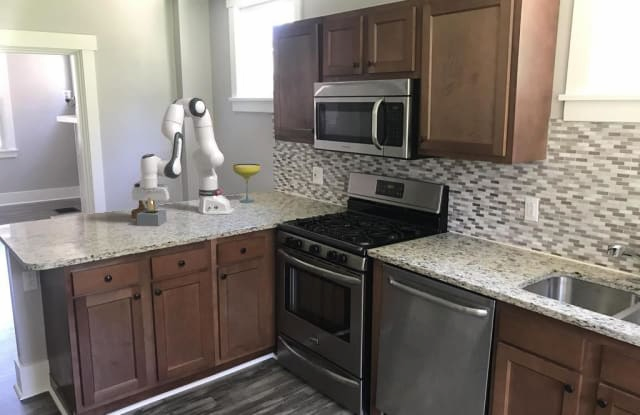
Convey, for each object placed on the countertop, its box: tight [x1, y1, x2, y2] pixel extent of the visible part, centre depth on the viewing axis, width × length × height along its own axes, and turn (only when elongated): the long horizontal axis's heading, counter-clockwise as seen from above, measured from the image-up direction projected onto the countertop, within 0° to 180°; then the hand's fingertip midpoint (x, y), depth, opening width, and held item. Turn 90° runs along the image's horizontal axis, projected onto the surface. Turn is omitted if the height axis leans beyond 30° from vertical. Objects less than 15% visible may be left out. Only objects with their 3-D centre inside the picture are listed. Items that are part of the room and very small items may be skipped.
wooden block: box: [130, 200, 148, 219], centre depth 305 cm, size 9×4×18 cm, turn 99°
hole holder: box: [136, 209, 167, 227], centre depth 291 cm, size 12×12×6 cm
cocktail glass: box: [232, 163, 261, 204], centre depth 356 cm, size 18×18×25 cm
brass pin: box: [147, 198, 156, 213], centre depth 290 cm, size 4×4×12 cm
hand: (151, 208), depth 290 cm, fingers closed on brass pin, 4 cm apart
